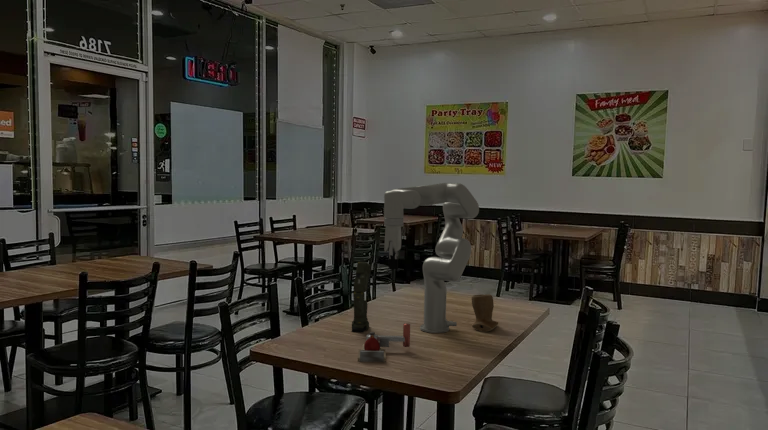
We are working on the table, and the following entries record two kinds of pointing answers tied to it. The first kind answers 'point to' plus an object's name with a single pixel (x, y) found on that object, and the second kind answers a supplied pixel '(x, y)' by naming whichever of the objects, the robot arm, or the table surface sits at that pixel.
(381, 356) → the base
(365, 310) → the mechanical leg
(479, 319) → the brown boot
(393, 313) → the table surface
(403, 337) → the lever
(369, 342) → the onion
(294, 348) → the table surface
